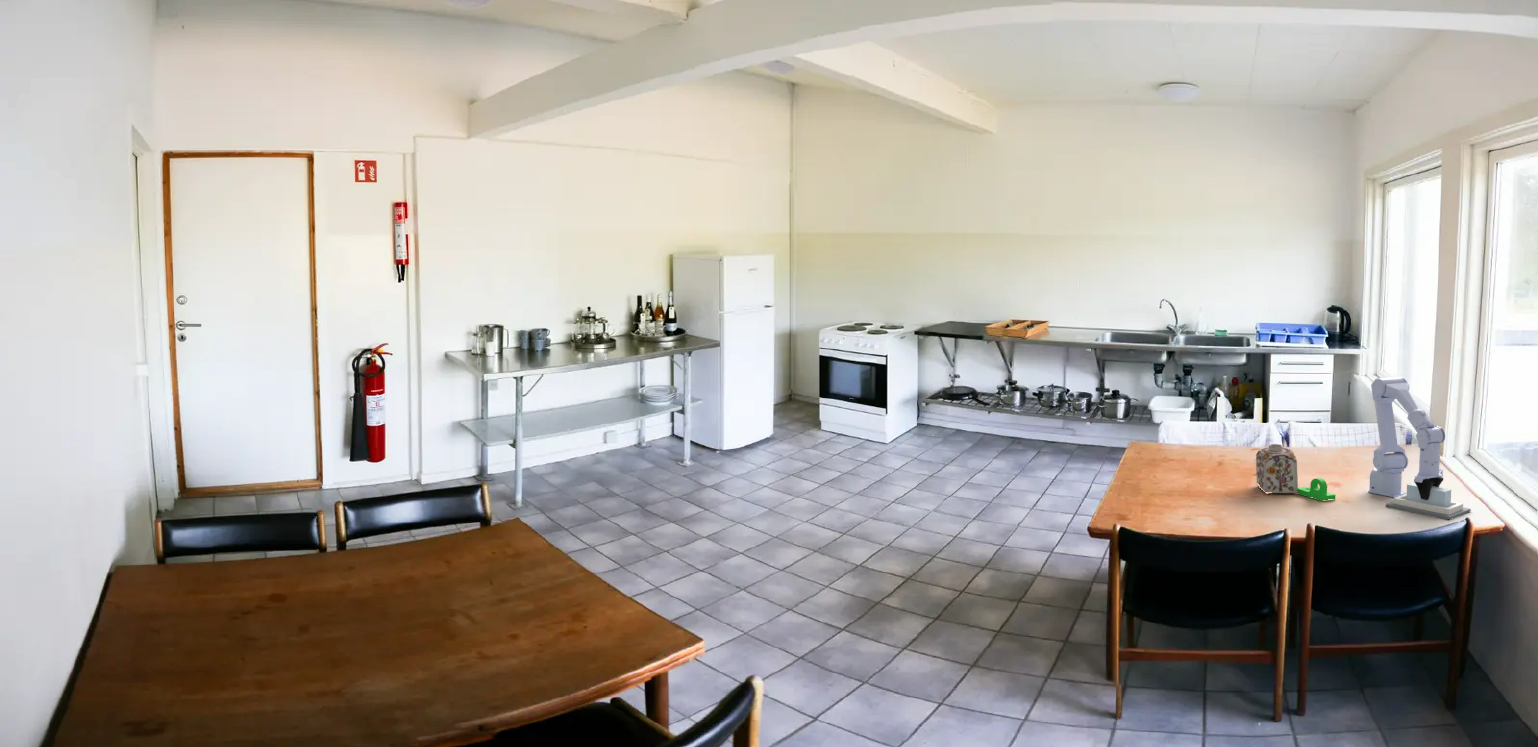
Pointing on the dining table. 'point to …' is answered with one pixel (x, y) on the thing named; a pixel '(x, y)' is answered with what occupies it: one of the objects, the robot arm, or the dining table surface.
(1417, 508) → the cradle jig
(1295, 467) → the decorative jar
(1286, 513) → the dining table surface
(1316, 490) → the mechanical part
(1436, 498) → the block
